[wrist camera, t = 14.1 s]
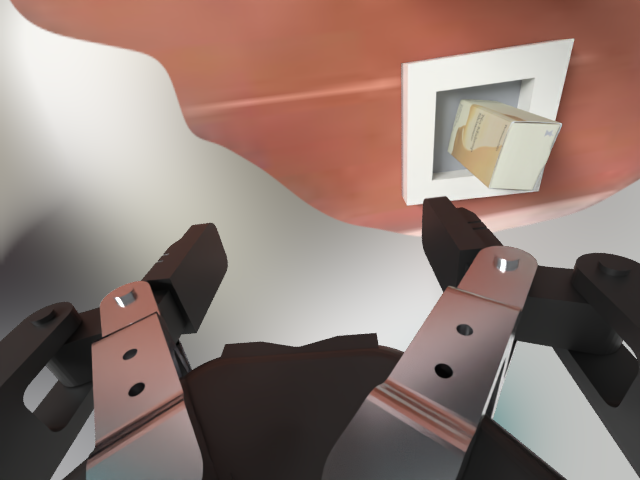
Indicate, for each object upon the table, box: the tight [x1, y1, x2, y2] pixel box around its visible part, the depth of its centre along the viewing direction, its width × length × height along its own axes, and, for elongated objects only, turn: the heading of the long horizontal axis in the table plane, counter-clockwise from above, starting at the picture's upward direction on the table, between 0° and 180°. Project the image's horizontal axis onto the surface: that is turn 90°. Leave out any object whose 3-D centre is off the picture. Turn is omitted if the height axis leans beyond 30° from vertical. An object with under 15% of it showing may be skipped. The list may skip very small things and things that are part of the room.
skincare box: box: [448, 99, 562, 192], centre depth 32 cm, size 6×4×12 cm
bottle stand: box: [401, 39, 574, 205], centre depth 37 cm, size 16×16×4 cm
